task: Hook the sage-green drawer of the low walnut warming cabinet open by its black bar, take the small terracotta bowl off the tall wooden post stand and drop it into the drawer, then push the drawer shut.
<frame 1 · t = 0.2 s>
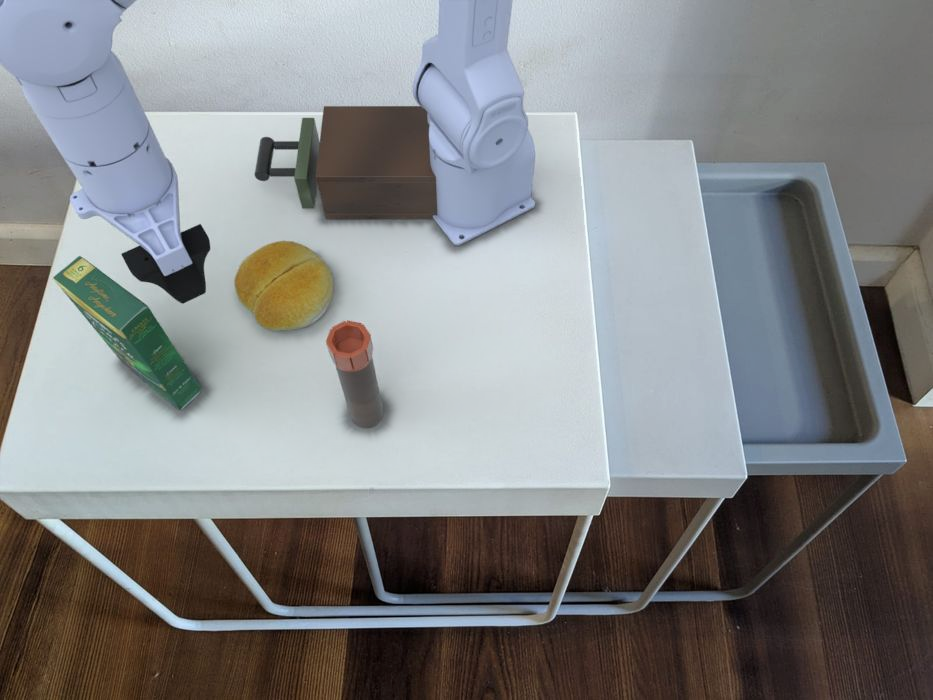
hand: (173, 261, 61), 10 cm above the table, tool pointing down, fingers open, 7 cm apart
drawer: (334, 163, 75), point 3 cm above the table, slide at 1.0 cm
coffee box: (161, 377, 67), on the table
post stand: (366, 413, 65), on the table
cabinet: (386, 184, 78), on the table
bread roll: (287, 294, 72), on the table
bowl: (352, 354, 57), point 10 cm above the table, touching post stand
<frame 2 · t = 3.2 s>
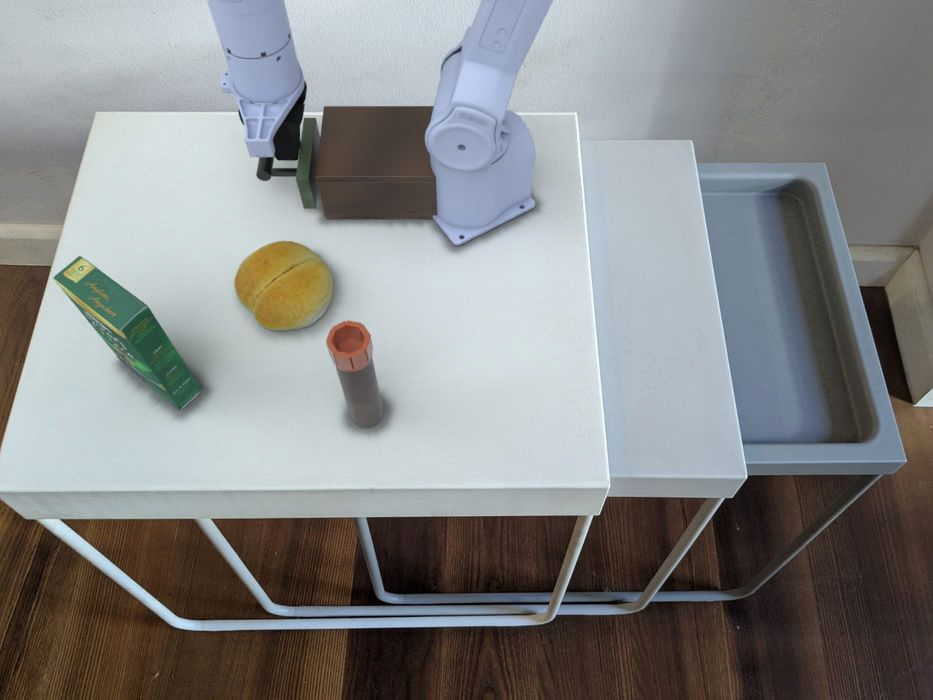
hand: (288, 155, 74), 4 cm above the table, tool pointing down, fingers closed
nothing on the table moved.
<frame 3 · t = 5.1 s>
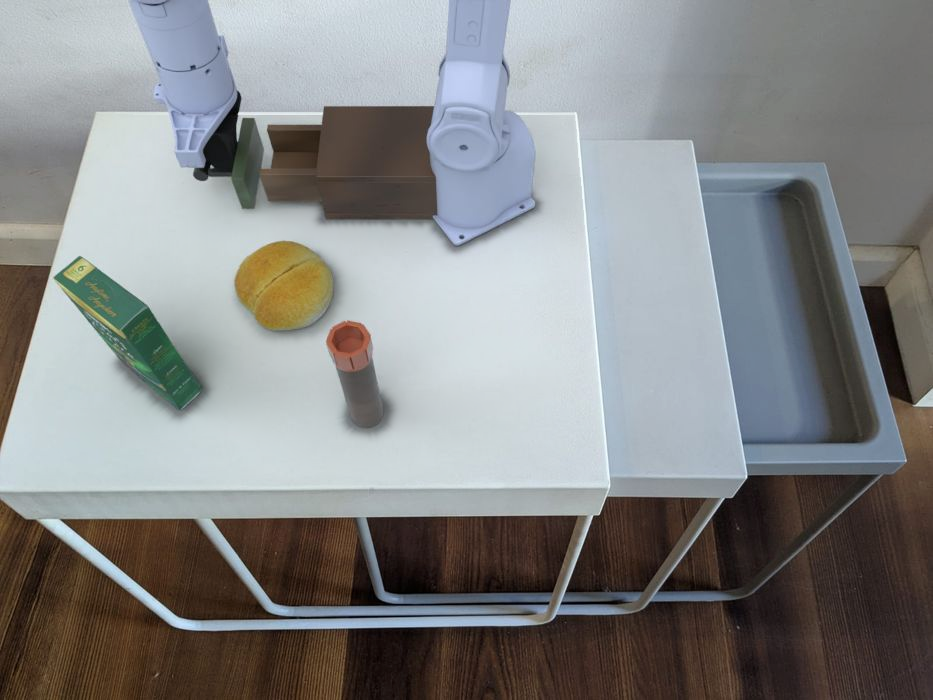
hand: (225, 164, 75), 3 cm above the table, tool pointing down, fingers closed, pressing on drawer
drawer: (274, 163, 75), point 3 cm above the table, slide at 6.8 cm, touching gripper
everything else where it was.
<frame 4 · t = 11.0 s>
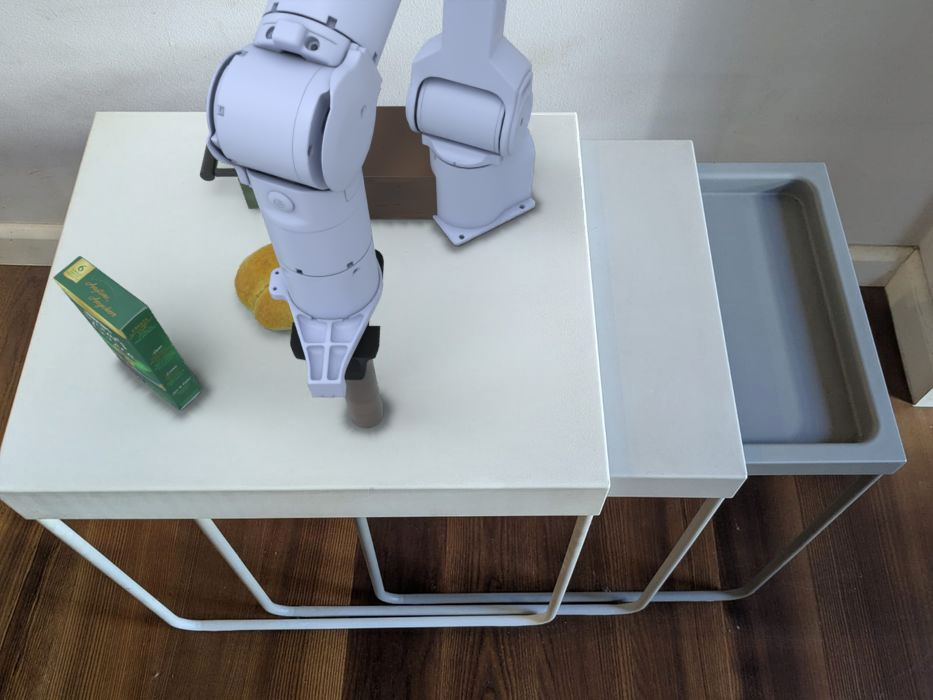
hand: (351, 352, 56), 10 cm above the table, tool pointing down, fingers closed on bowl, 3 cm apart
drawer: (280, 163, 75), point 3 cm above the table, slide at 6.2 cm
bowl: (352, 354, 57), point 10 cm above the table, touching gripper, post stand
everything else where it was.
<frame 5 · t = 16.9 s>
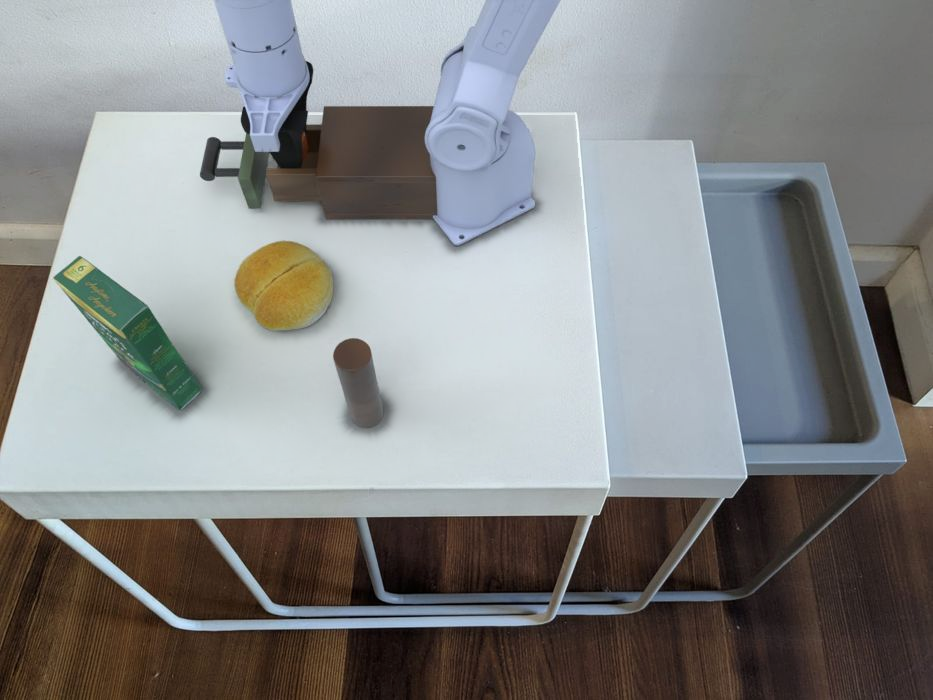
hand: (292, 150, 74), 5 cm above the table, tool pointing down, fingers closed on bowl, 3 cm apart
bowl: (292, 152, 74), point 5 cm above the table, touching gripper
everything else where it was.
when the fingers open (6 cm above the table, at t = 25.6 s): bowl drops 4 cm, resting on drawer.
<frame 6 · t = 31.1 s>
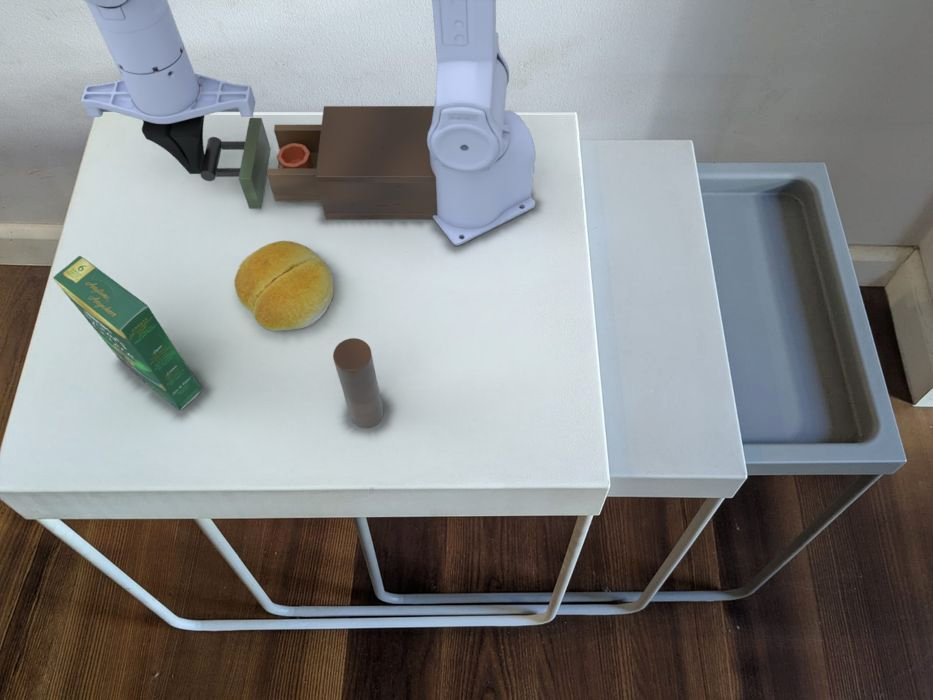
hand: (197, 166, 76), 3 cm above the table, tool pointing down, fingers closed
drawer: (281, 163, 75), point 3 cm above the table, slide at 6.1 cm, touching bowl, gripper
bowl: (297, 170, 76), point 2 cm above the table, touching drawer
everything else where it was.
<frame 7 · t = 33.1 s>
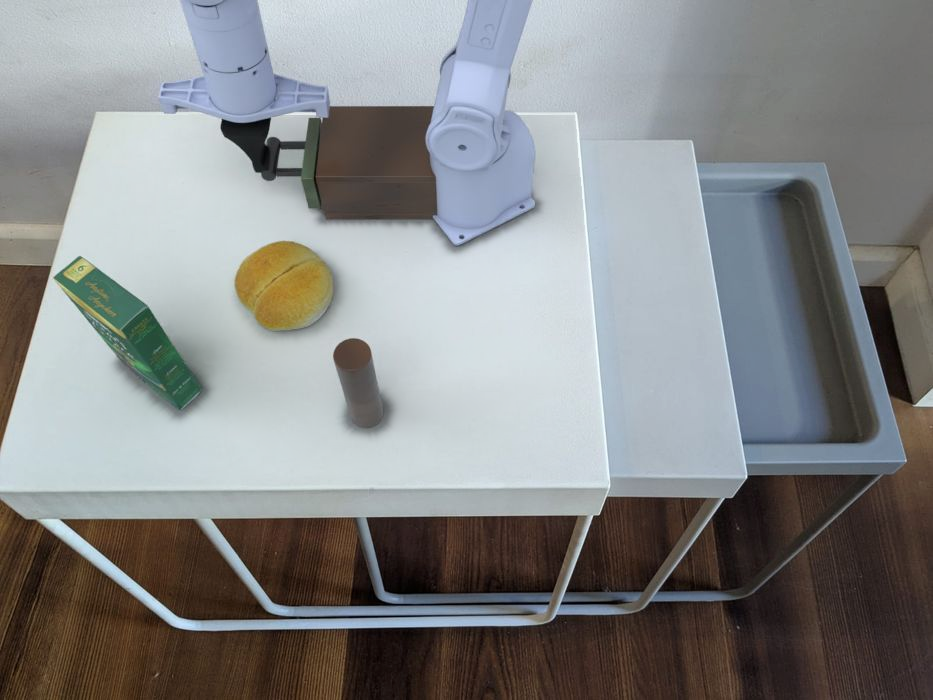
hand: (263, 165, 76), 3 cm above the table, tool pointing down, fingers closed, pressing on drawer
drawer: (340, 163, 75), point 3 cm above the table, slide at 0.4 cm, touching arm, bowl, gripper
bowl: (355, 170, 76), point 2 cm above the table, touching drawer
everything else where it was.
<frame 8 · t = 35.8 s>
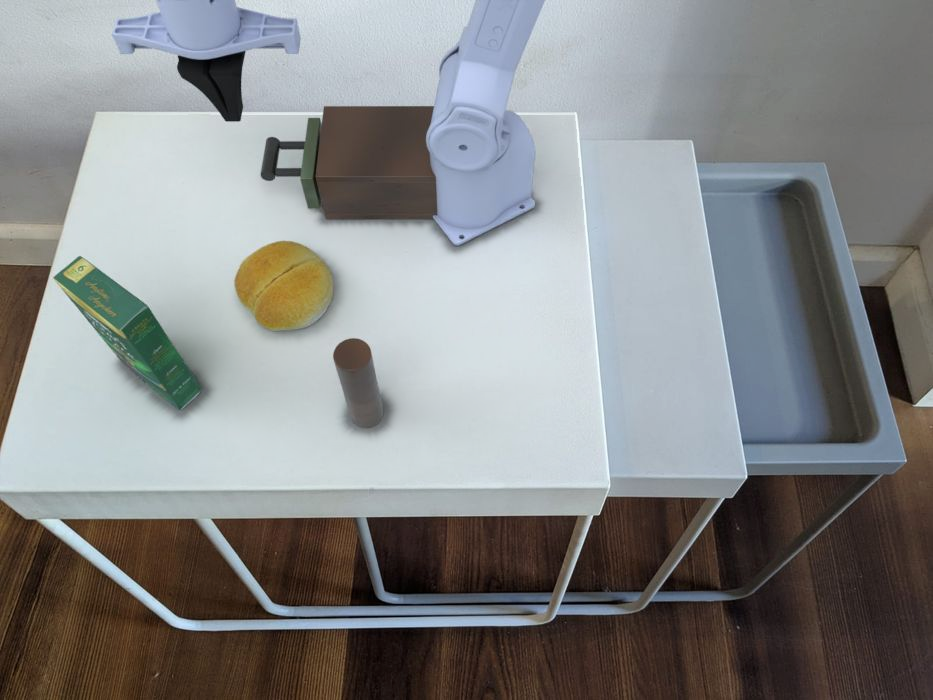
hand: (234, 113, 70), 9 cm above the table, tool pointing down, fingers closed
drawer: (340, 163, 75), point 3 cm above the table, slide at 0.4 cm, touching arm, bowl
everything else where it was.
at the end: drawer pulled out 6.8 cm at the most during the clip, back to 0.4 cm at the end; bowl inside the target area in the cabinet (3.0 cm from its centre), point 2.0 cm above the cabinet's base; drawer slide at 0.4 cm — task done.
